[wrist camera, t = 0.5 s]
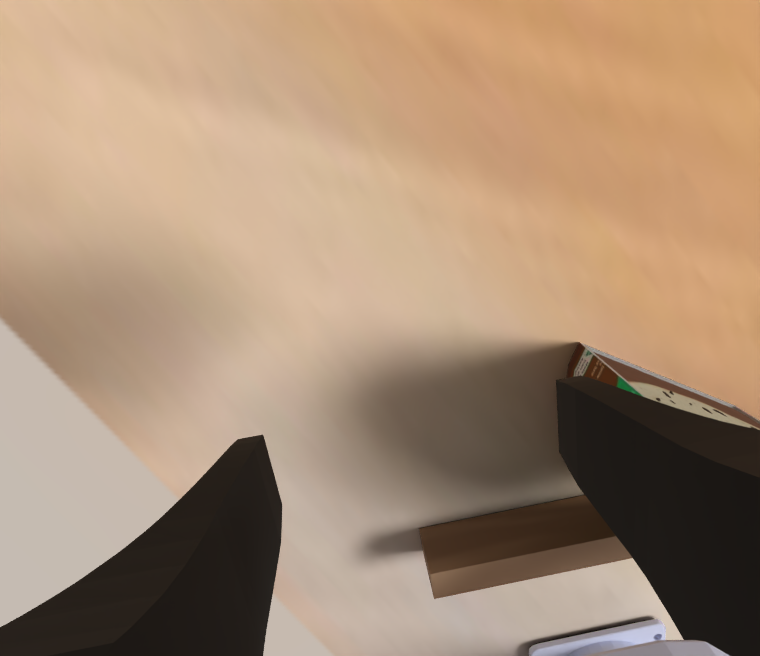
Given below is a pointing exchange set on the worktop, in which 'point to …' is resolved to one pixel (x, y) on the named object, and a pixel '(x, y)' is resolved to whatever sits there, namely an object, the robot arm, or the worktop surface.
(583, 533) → the rail
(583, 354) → the food container
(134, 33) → the worktop surface
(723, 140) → the worktop surface
